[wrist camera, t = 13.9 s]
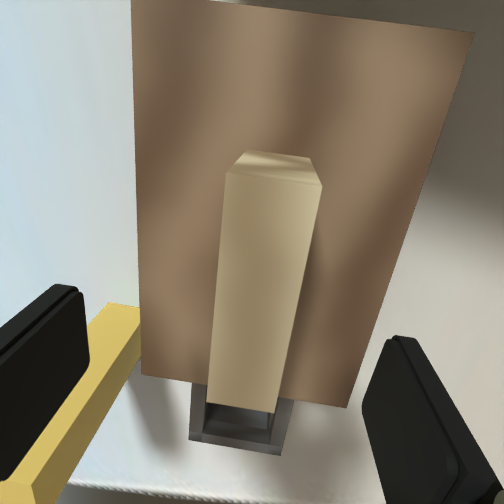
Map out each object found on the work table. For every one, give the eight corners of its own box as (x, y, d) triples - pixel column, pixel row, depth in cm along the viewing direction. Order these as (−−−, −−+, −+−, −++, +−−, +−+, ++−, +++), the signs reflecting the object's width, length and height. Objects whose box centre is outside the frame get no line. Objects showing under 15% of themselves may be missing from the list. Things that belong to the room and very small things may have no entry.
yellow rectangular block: (149, 309, 31) (30, 485, 17) (148, 341, 33) (41, 527, 18) (108, 302, 31) (-44, 470, 17) (110, 335, 33) (-27, 513, 19)
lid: (449, 42, 15) (613, -22, 7) (323, 436, 26) (339, 568, 19) (150, 5, 15) (23, -89, 8) (153, 407, 27) (102, 524, 19)
